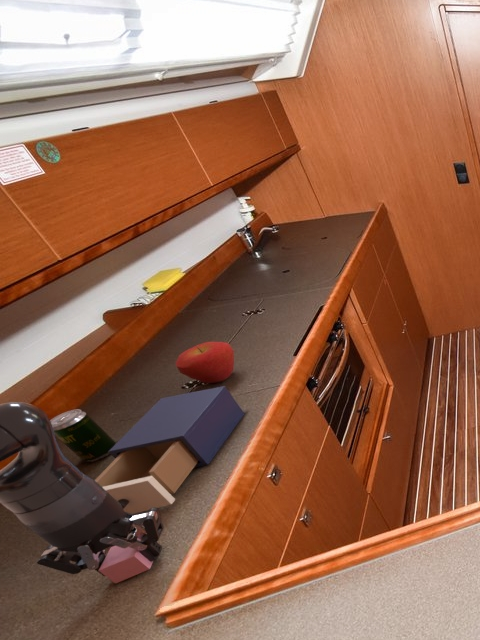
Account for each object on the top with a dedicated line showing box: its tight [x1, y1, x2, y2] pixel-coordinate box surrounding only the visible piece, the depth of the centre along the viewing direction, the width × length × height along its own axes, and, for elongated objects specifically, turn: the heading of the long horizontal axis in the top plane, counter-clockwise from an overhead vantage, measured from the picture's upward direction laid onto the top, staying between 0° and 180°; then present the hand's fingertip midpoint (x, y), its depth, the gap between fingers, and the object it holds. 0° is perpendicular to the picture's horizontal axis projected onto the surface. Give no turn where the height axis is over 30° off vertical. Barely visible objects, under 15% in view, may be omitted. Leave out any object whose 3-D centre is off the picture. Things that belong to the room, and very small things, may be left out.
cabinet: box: [108, 385, 245, 469], centre depth 95 cm, size 16×13×10 cm
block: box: [98, 538, 154, 584], centre depth 72 cm, size 4×4×4 cm
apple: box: [175, 341, 235, 384], centre depth 114 cm, size 11×11×12 cm
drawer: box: [94, 439, 199, 515], centre depth 85 cm, size 16×12×8 cm
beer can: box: [49, 408, 117, 463], centre depth 93 cm, size 5×5×12 cm
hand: (136, 563), depth 73 cm, fingers closed on block, 4 cm apart
